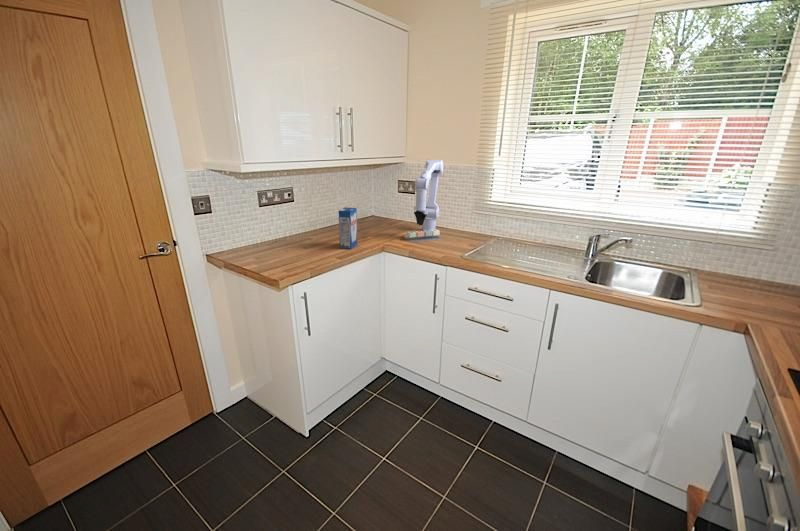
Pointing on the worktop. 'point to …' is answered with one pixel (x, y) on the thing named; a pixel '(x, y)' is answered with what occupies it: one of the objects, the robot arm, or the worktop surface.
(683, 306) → the worktop surface
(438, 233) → the key
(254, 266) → the worktop surface
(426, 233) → the key
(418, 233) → the key
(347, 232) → the milk carton
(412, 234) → the key
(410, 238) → the keypad board
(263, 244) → the worktop surface
